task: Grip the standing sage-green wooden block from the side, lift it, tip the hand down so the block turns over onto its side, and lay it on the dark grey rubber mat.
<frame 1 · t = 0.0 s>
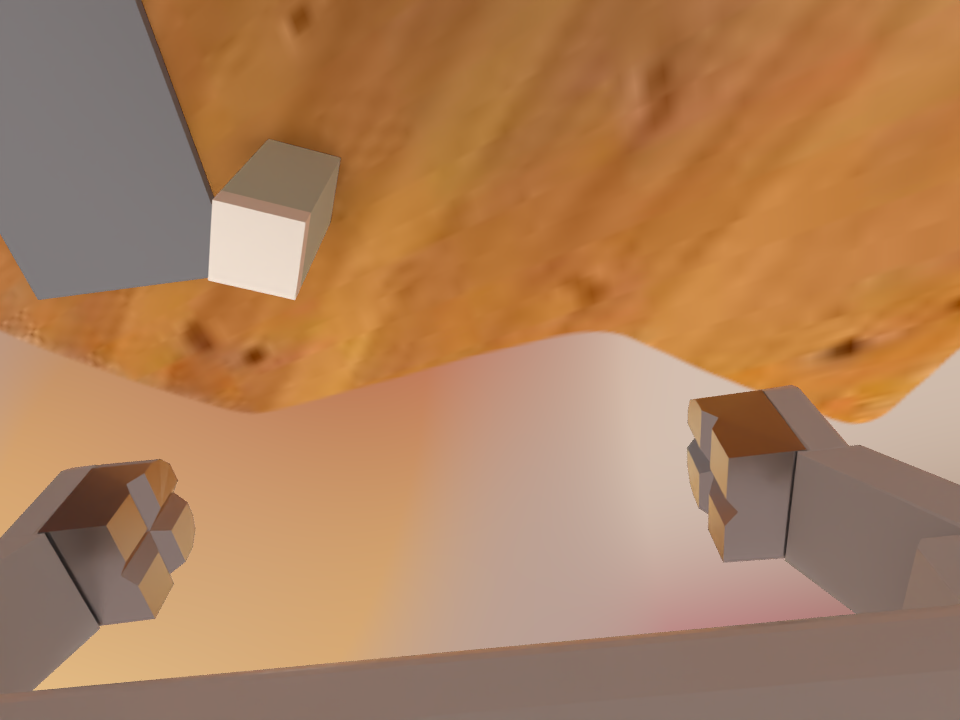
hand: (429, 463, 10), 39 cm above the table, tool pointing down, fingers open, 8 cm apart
rubber mat: (81, 154, 46), on the table
sage block: (300, 182, 47), on the table
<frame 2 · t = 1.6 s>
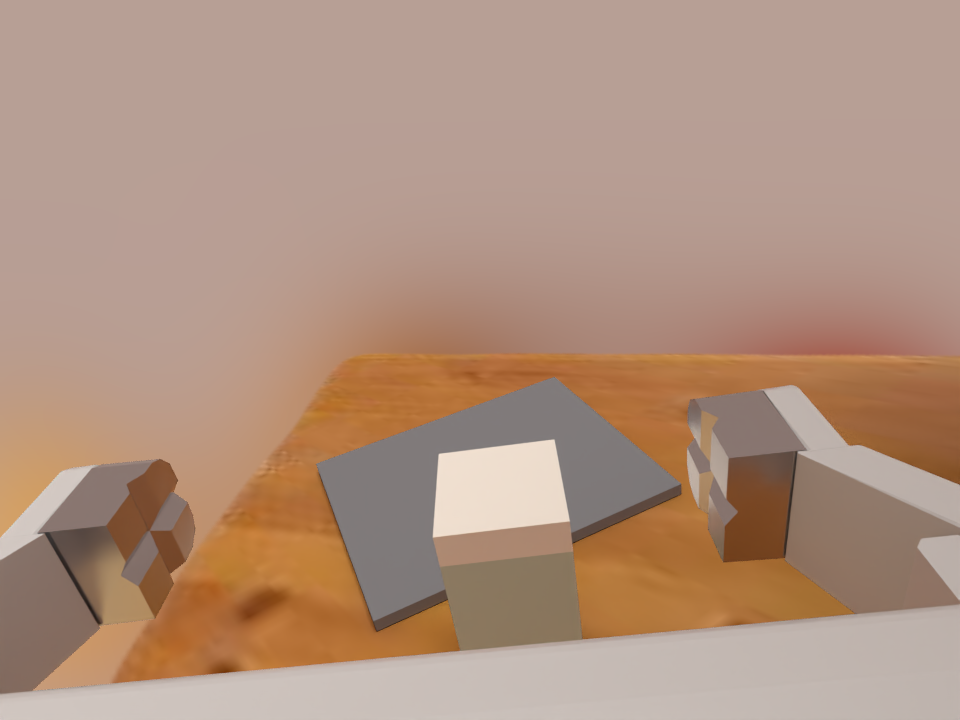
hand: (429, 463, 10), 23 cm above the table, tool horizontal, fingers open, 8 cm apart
rubber mat: (484, 482, 45), on the table
sage block: (531, 677, 32), on the table
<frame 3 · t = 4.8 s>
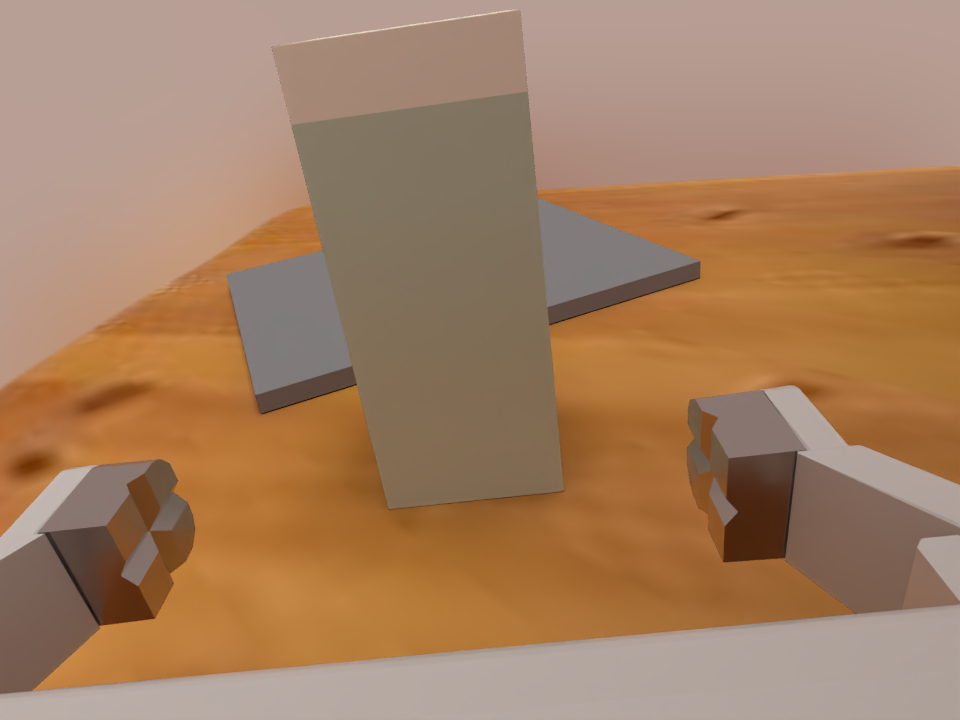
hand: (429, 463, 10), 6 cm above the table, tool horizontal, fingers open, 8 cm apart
rubber mat: (439, 282, 34), on the table
sage block: (476, 448, 21), on the table
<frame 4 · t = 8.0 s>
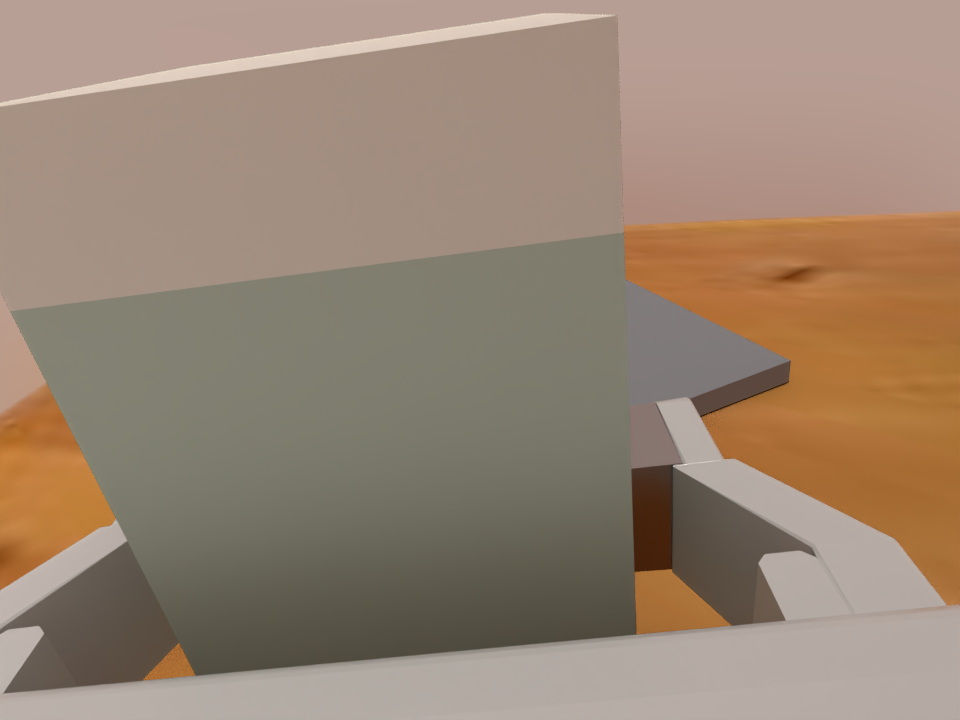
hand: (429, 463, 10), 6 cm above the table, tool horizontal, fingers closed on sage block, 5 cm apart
rubber mat: (428, 374, 26), on the table
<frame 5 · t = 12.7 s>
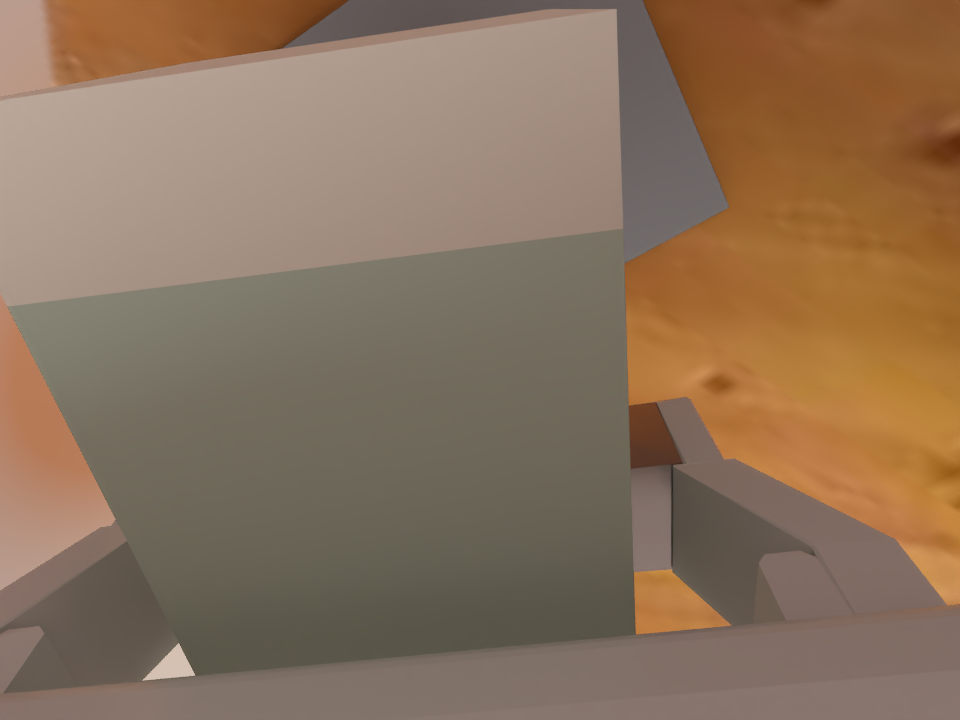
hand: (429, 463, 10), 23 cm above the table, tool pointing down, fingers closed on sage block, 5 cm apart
rubber mat: (458, 165, 31), on the table
when the fingers open (4 cm above the table, at t = 17.1 s): sage block drops 2 cm, resting on rubber mat.
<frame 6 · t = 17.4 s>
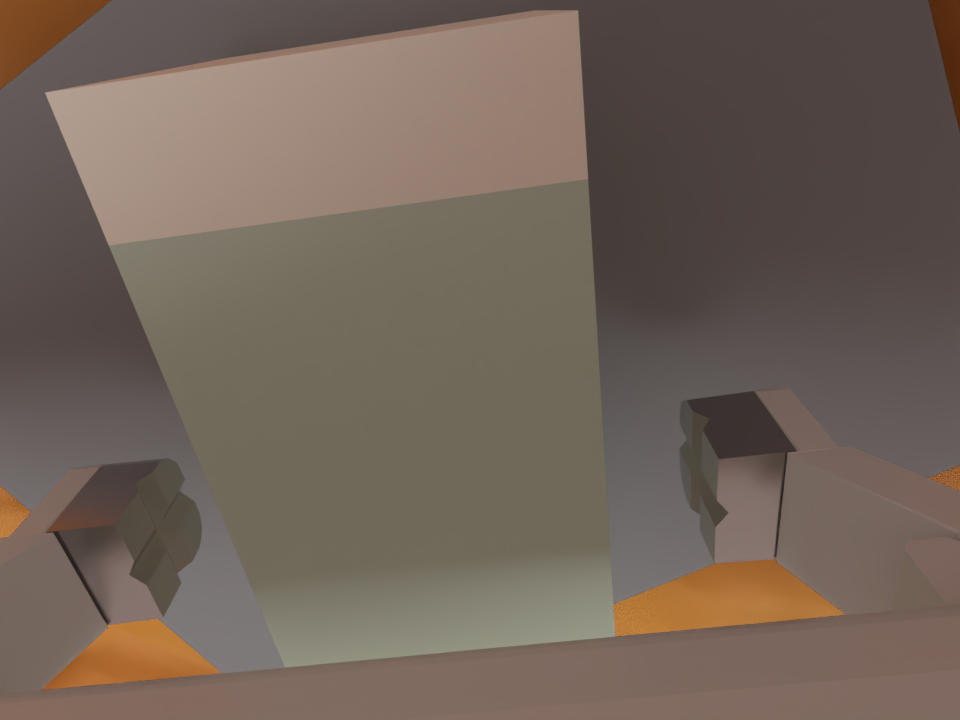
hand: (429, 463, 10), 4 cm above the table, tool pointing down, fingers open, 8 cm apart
rubber mat: (440, 346, 14), on the table
sage block: (480, 669, 14), point 3 cm above the table, tilted 90°, touching rubber mat
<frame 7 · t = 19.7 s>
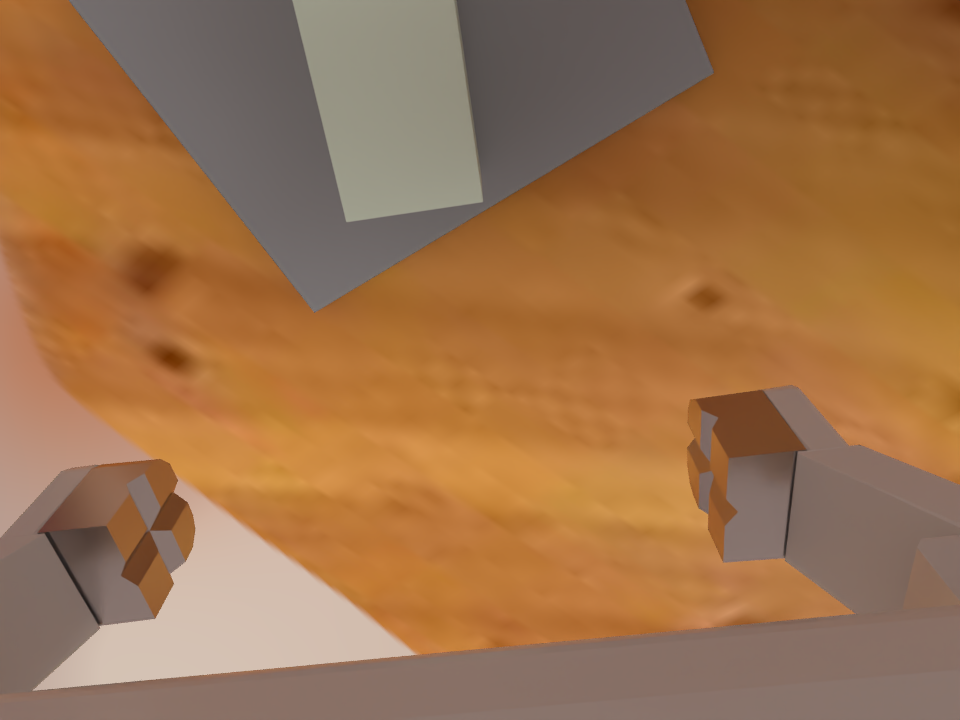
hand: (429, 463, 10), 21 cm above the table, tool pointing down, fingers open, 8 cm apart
rubber mat: (395, 25, 26), on the table
sage block: (419, 195, 26), point 3 cm above the table, tilted 90°, touching rubber mat
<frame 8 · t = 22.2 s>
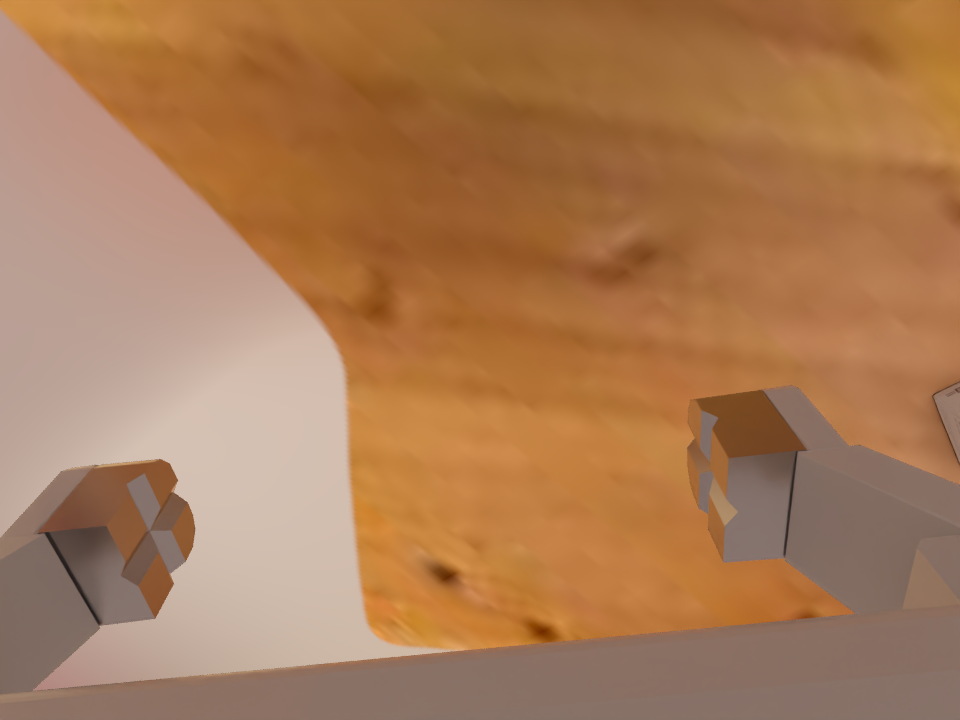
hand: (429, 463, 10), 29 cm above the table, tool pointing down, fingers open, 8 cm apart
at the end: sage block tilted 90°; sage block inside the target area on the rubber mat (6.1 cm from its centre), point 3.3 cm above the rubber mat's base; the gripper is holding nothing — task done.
